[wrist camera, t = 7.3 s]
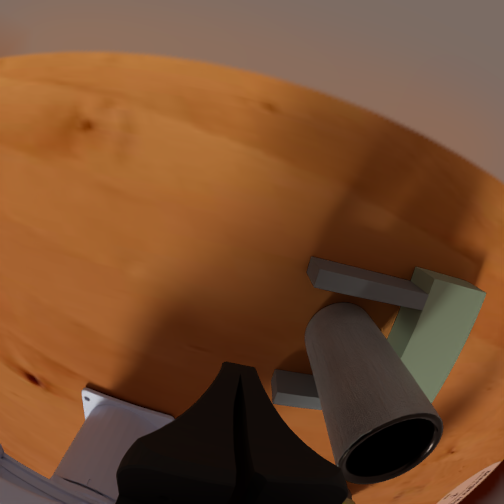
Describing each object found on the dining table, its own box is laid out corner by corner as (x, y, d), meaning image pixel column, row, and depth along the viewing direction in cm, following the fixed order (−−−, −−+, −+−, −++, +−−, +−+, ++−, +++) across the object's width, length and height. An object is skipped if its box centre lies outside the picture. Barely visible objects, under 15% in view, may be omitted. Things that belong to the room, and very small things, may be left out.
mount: (407, 403, 21) (418, 422, 18) (267, 390, 20) (268, 414, 18) (466, 281, 18) (486, 292, 16) (316, 239, 17) (325, 250, 15)
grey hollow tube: (312, 369, 20) (343, 495, 10) (296, 314, 19) (330, 442, 9) (374, 349, 19) (438, 459, 9) (365, 292, 18) (449, 395, 8)
